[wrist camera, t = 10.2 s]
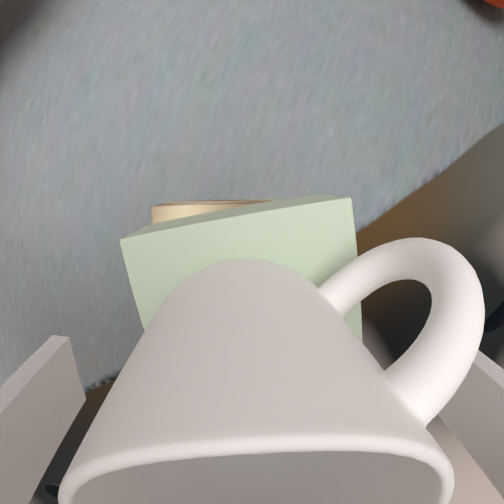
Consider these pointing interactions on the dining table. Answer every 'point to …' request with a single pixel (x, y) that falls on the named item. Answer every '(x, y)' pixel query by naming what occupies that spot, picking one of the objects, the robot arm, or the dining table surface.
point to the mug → (283, 390)
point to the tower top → (243, 245)
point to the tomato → (496, 3)
